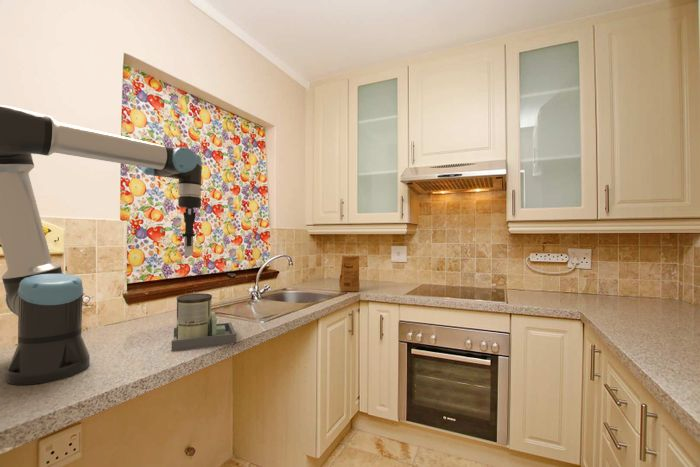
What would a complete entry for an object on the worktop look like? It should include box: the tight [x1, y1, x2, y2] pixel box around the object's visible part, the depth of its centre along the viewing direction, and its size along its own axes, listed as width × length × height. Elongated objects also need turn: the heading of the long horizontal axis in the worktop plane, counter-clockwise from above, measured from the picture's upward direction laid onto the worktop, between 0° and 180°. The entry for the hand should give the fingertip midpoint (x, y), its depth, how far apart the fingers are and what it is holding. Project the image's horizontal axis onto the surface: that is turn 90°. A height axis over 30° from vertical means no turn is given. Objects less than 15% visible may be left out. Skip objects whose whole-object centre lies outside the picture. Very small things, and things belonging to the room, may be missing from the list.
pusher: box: [211, 311, 226, 336], centre depth 109 cm, size 4×12×7 cm, turn 26°
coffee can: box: [176, 293, 213, 339], centre depth 106 cm, size 10×10×14 cm
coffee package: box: [339, 255, 360, 292], centre depth 206 cm, size 10×12×22 cm
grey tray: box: [170, 322, 237, 352], centre depth 107 cm, size 18×15×3 cm
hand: (188, 254), depth 122 cm, fingers open, 13 cm apart
